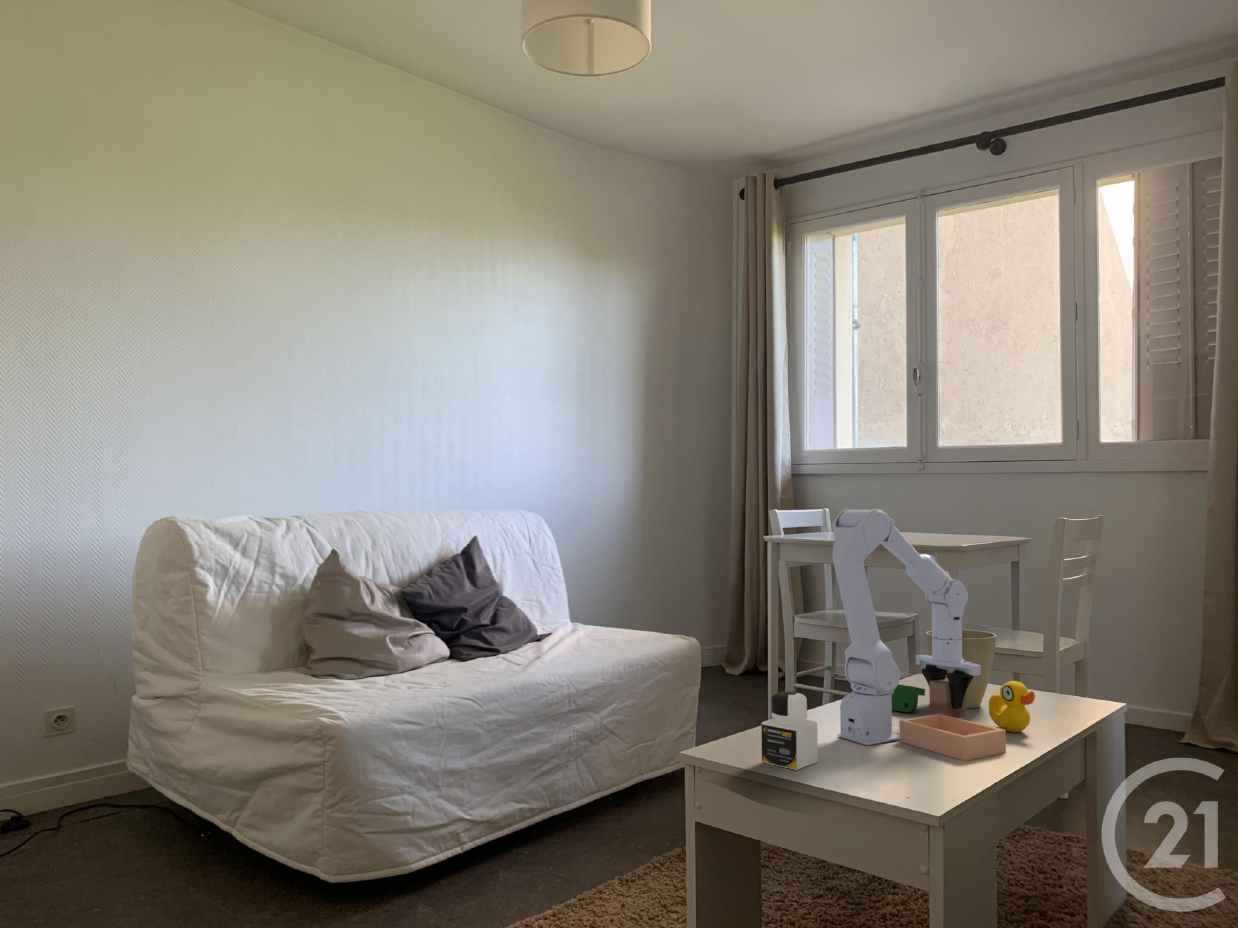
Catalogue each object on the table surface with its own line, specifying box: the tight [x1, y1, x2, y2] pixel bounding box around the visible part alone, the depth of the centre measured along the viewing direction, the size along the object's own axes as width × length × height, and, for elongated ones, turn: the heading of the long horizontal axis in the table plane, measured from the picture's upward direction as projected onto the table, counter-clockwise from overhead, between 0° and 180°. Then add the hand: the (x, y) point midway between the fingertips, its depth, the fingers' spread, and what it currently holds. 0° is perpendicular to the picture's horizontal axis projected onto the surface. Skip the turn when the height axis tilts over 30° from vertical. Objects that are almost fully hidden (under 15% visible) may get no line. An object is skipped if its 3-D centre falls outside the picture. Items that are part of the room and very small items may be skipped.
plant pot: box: [925, 629, 997, 709], centre depth 206 cm, size 15×15×16 cm
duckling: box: [988, 680, 1036, 733], centre depth 182 cm, size 11×5×10 cm, turn 19°
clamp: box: [891, 683, 926, 714], centre depth 202 cm, size 12×6×9 cm, turn 38°
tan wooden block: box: [928, 679, 967, 719], centre depth 185 cm, size 6×4×7 cm, turn 120°
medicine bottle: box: [760, 691, 819, 771], centre depth 160 cm, size 7×7×12 cm
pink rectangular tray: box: [898, 714, 1007, 761], centre depth 170 cm, size 11×15×4 cm
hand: (947, 705), depth 184 cm, fingers closed on tan wooden block, 4 cm apart
